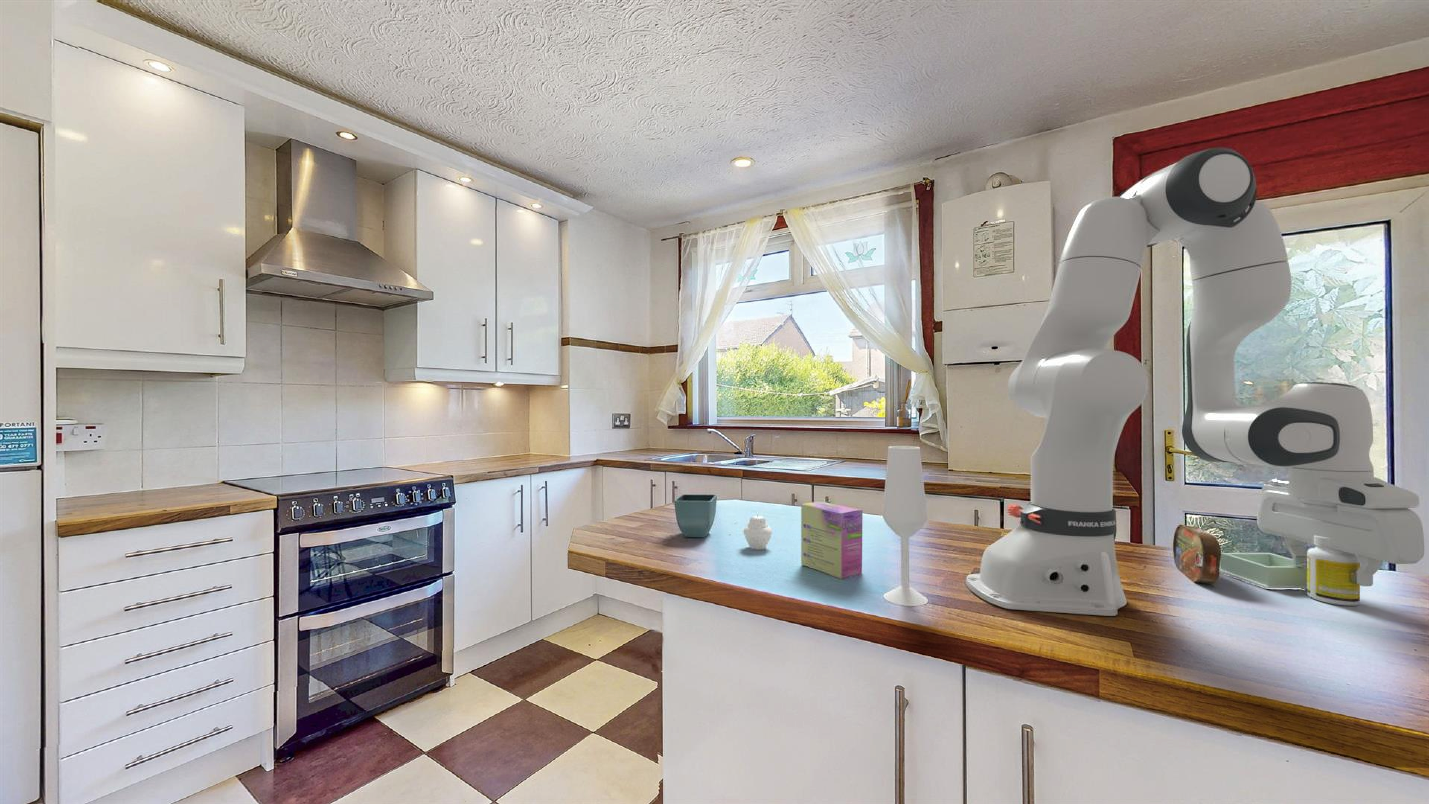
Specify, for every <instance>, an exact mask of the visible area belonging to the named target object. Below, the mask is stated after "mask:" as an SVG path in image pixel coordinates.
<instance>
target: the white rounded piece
mask: <svg viewBox="0 0 1429 804" xmlns="http://www.w3.org/2000/svg"><path fill="white" fill-rule="evenodd" d="M772 534H773V530H772V528H771V527H770V526H769V524H768V523H767V519H766V518H765V517H764V516H761V515H759V514H757V515H754V516H752V517H750V518H749V522H748V524H747V525H746V526H745V527H744V529H743V535H744V538H745V540H746V542H747V544H748V546H749V548H750V549H752V550H758V551H759V550H761V551H762V550H765V549H766V548H767V545H768V544H769V542H770V540H771V537H772Z"/></svg>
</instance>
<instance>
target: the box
mask: <svg viewBox="0 0 1429 804" xmlns="http://www.w3.org/2000/svg"><path fill="white" fill-rule="evenodd" d="M800 509H801V510H800V516H801V517H800V518H801V519H800V522H801V523H800V524H801V526H800V527H801V528H800V529H801V530H800V533H801V534H800V538H801V539H800V541H801V543H800V547H801V548H800V549H801V550H800V551H801V553H800V554H801V555H800V558H801V559H800V561H801V562H800V564H801V565H802V566H806V567H807V568H808V567H809V568H811V569H813V570H817V571H820V572H823V573H825V574H828V575H830V576H832V577H835V578H838V579H841V580H843V579H847V578H851V577H855V576H859V575H862V574H863V510H862V509H861V508H860V509H858V508H855V507H849V506H845V505H840V504H835V503H832V502H831V503H830V502H826V501H823V500H822V501H821V500H819V501H814V502H813V501H812V502H807V503H802V504H801V505H800Z"/></svg>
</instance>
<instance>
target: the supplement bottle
mask: <svg viewBox="0 0 1429 804" xmlns="http://www.w3.org/2000/svg"><path fill="white" fill-rule="evenodd" d="M1313 545H1315V547H1310V548H1309V549H1308V550H1307V552H1306V554H1307V590H1306V593H1307V596H1308V597H1310V598H1311V597H1312V598H1311V599H1313V600H1316V601H1320V602H1323V603H1327V604H1331V605H1337V606H1348V607H1351V606H1353V607H1355V606H1359V605H1360V603H1361V602H1360V600H1361V586H1360V585H1357V584H1354V583H1351V582H1350V578H1351V577H1350V571H1357V570H1358V568H1359V567H1360V566H1361V563H1359V562H1357V555H1356V554H1352V553H1347V552H1343V551H1339V550H1335V549H1332V545H1331V539H1329V538H1325V537H1320V536H1316V535H1314V544H1313Z"/></svg>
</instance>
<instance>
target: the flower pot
mask: <svg viewBox="0 0 1429 804" xmlns="http://www.w3.org/2000/svg"><path fill="white" fill-rule="evenodd" d="M717 497H718V495H717V494H707V493H706V494H695V493H694V494H692V493H691V494H686V493H685V494H684V493H683V494H681V495H680V496H678V497H677V498H676V499H674V500H673V504H674V512H675V519H676V523H677V526H678V529H679V530H680V532H681V534H682V536H684V538H703V539H704V538H706V537H707V536H708V534H709V533H710V531H711V529H712V526H713V525H714V521H715V518H716V511H717Z"/></svg>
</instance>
